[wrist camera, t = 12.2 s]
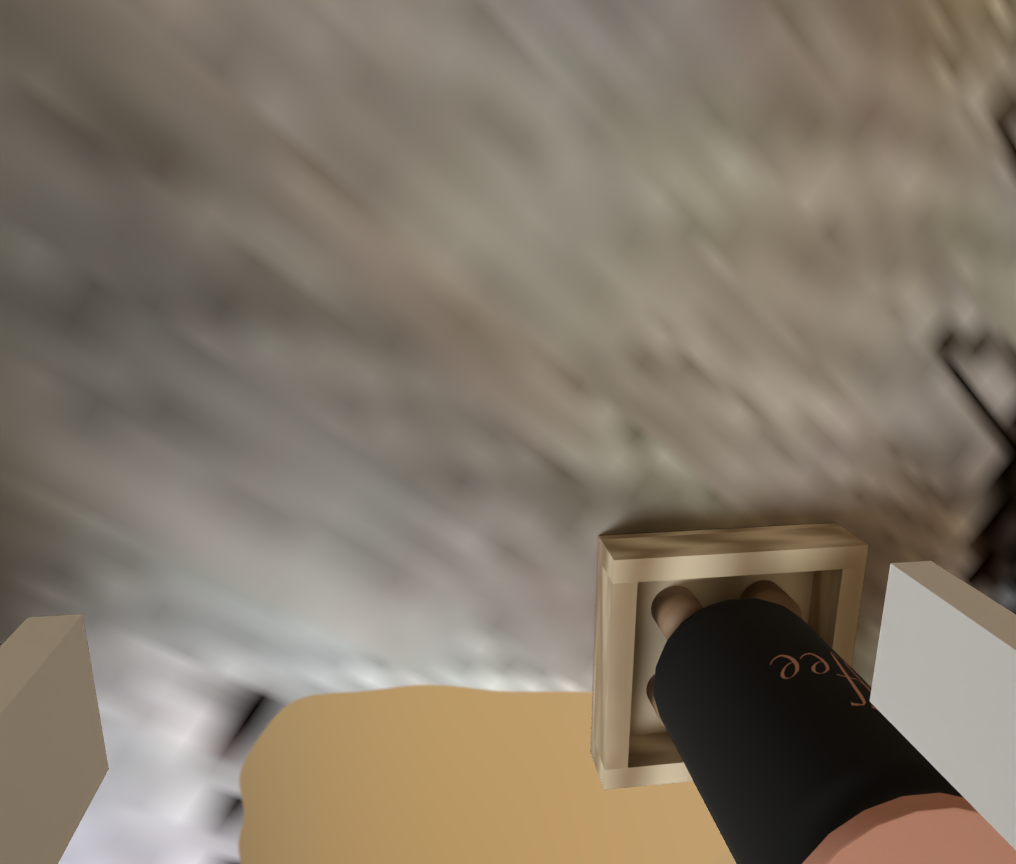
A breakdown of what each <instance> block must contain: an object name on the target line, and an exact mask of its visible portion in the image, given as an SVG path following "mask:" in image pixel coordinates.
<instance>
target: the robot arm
mask: <svg viewBox="0 0 1016 864" xmlns="http://www.w3.org/2000/svg"><path fill="white" fill-rule="evenodd" d="M870 702H871V703H872V704H873V705H874V706H875V707H876V708H877V709H878V710H879V711H880V713H881V714H882V715H883V716H884V717H885V718H886V719H887V720H888V721H889V722H890V723H891V724H892V725H893V726H894V727H895V728H896V729H897V730H898V731H899V732H900V733H901V734H902V735H903V736H904V737H905V738H906V739H907V740H908V741H909V742H910V743H911V744H912V745H913V746H914V747H915V748H916V749H917V750H918V751H919V752H920V753H921V754H922V755H923V756H924V757H925V758H926V759H927V760H928V762H929V763H930V764H931V765H932V766H933V767H934V768H935V769H936V770H937V771H938V772H939V773H940V774H941V775H942V776H943V777H944V778H945V779H946V780H947V781H948V782H949V783H950V784H951V785H952V786H953V787H954V788H955V789H956V790H957V791H958V792H959V793H960V794H961V795H962V796H963V797H964V798H965V799H966V800H967V801H968V802H969V803H970V804H971V805H972V806H973V807H974V808H975V809H976V811H977V812H978V813H979V814H980V815H981V816H982V817H983V818H984V819H985V820H986V821H987V822H988V823H989V824H990V825H991V826H992V827H993V828H994V829H995V830H996V831H997V832H998V833H999V834H1000V835H1001V836H1002V837H1003V838H1004V839H1005V840H1006V841H1007V842H1008V843H1009V844H1010V845H1011V846H1012V847H1013V848H1014V849H1015V850H1016V615H1015V614H1014V613H1012V612H1011V611H1009V610H1008V609H1006V608H1004V607H1003V606H1001V605H1000V604H998V603H997V602H995V601H993V600H992V599H990V598H989V597H987V596H986V595H984V594H982V593H981V592H979V591H978V590H976V589H975V588H973V587H971V586H970V585H968V584H967V583H965V582H964V581H962V580H960V579H959V578H957V577H956V576H954V575H953V574H951V573H949V572H948V571H946V570H945V569H943V568H942V567H940V566H938V565H937V564H935V563H934V562H932V561H918V562H902V563H890V569H889V576H888V583H887V589H886V596H885V602H884V609H883V616H882V622H881V629H880V635H879V642H878V649H877V655H876V662H875V669H874V675H873V682H872V688H871V695H870ZM108 769H109V768H108V762H107V756H106V750H105V744H104V738H103V732H102V726H101V720H100V714H99V708H98V702H97V696H96V690H95V685H94V679H93V673H92V667H91V661H90V655H89V649H88V643H87V637H86V631H85V625H84V619H83V614H74V615H58V616H42V617H28V618H27V619H26V620H25V621H24V622H23V623H22V624H21V625H20V626H19V627H18V628H17V629H16V630H15V631H14V633H13V634H12V635H11V636H10V637H9V638H8V639H7V640H6V641H5V642H4V643H3V644H2V645H1V646H0V864H58V862H59V860H60V859H61V857H62V855H63V853H64V851H65V849H66V847H67V846H68V844H69V842H70V840H71V838H72V836H73V834H74V832H75V831H76V829H77V827H78V825H79V823H80V821H81V819H82V818H83V816H84V814H85V812H86V810H87V808H88V806H89V804H90V803H91V801H92V799H93V797H94V795H95V793H96V791H97V790H98V788H99V786H100V784H101V782H102V780H103V778H104V777H105V775H106V773H107V771H108Z"/></svg>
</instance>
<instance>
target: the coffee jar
mask: <svg viewBox="0 0 1016 864" xmlns="http://www.w3.org/2000/svg"><path fill="white" fill-rule="evenodd" d="M871 688H872V687H871V686H870V685H869V684H868V683H867V682H866V681H865V680H863V679H862V678H861V677H860V676H859V675H858V674H857V673H856V672H855V671H854V670H853V669H852V668H851V667H850V666H849V665H848V664H847V663H846V662H845V661H844V660H843V659H842V658H841V657H840V656H839V655H838V654H837V653H836V652H835V651H834V650H833V649H832V648H831V647H830V646H829V645H828V644H827V643H826V642H825V641H824V640H823V639H822V638H821V637H820V636H819V635H818V634H817V633H816V632H815V631H814V630H813V629H812V628H811V627H810V626H809V625H808V624H807V623H806V622H805V621H804V620H803V619H802V618H800V617H799V616H797V615H796V614H794V613H793V612H792V611H790V610H789V609H787V608H786V607H784V606H783V605H780V604H776V603H772V602H768V601H765V600H761V599H757V598H747V599H729V600H724V601H721V602H718V603H715V604H712V605H710V606H707V607H704V608H702V609H700V610H699V611H697V612H696V613H694V614H693V615H691V616H690V617H689V618H687V619H686V620H684V621H683V622H682V623H681V624H680V625H679V627H678V628H677V629H676V630H675V631H674V633H673V634H672V635H671V636H670V637H669V639H668V640H667V642H666V644H665V646H664V648H663V651H662V653H661V655H660V658H659V660H658V663H657V665H656V669H655V681H654V694H653V695H654V699H655V702H656V706H657V709H658V712H659V716H660V718H661V720H662V722H663V724H664V726H665V728H666V730H667V732H668V734H669V735H670V737H671V739H672V741H673V743H674V745H675V747H676V749H677V751H678V753H679V754H680V756H681V758H682V760H683V762H684V764H685V766H686V768H687V770H688V772H689V774H690V775H691V777H692V779H693V781H694V783H695V785H696V787H697V789H698V791H699V793H700V795H701V796H702V798H703V800H704V802H705V804H706V806H707V808H708V810H709V812H710V814H711V816H712V817H713V819H714V821H715V823H716V825H717V827H718V829H719V831H720V833H721V835H722V836H723V838H724V840H725V842H726V844H727V846H728V848H729V850H730V852H731V854H732V856H733V858H734V859H735V861H736V863H737V864H1016V850H1015V849H1014V848H1013V847H1012V846H1011V845H1010V844H1009V843H1008V842H1007V841H1006V840H1005V839H1004V838H1003V837H1002V836H1001V835H1000V834H999V833H998V832H997V831H996V830H995V829H994V828H993V827H992V826H991V825H990V824H989V823H988V822H987V821H986V820H985V819H984V818H983V817H982V816H981V815H980V814H979V813H978V812H977V811H976V809H975V808H974V807H973V806H972V805H971V804H970V803H969V802H968V801H967V800H966V799H965V798H964V797H963V796H962V795H961V794H960V793H959V792H958V791H957V790H956V789H955V788H954V787H953V786H952V785H951V784H950V783H949V782H948V781H947V780H946V779H945V778H944V777H943V776H942V775H941V774H940V773H939V772H938V771H937V770H936V769H935V768H934V767H933V766H932V765H931V764H930V763H929V762H928V760H927V759H926V758H925V757H924V756H923V755H922V754H921V753H920V752H919V751H918V750H917V749H916V748H915V747H914V746H913V745H912V744H911V743H910V742H909V741H908V740H907V739H906V738H905V737H904V736H903V735H902V734H901V733H900V732H899V731H898V730H897V729H896V728H895V727H894V726H893V725H892V724H891V723H890V722H889V721H888V720H887V719H886V718H885V717H884V716H883V715H882V714H881V713H880V711H879V710H878V709H877V708H876V707H875V706H874V705H873V704H872V703H871V702H870V695H871Z"/></svg>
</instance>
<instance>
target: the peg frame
mask: <svg viewBox="0 0 1016 864" xmlns="http://www.w3.org/2000/svg"><path fill="white" fill-rule="evenodd" d="M868 547H869V545H868V544H866V543H865V542H863V541H862V540H860V539H859V538H857V537H856V536H855V535H853V534H852V533H850V532H849V531H847V530H846V529H844V528H843V527H842V526H840V525H839V524H837V523H823V524H804V525H786V526H768V527H749V528H731V529H712V530H694V531H676V532H657V533H639V534H621V535H602V536H598V560H597V587H596V614H595V642H594V669H593V697H592V725H591V750H590V752H591V755H592V758H593V760H594V763H595V766H596V769H597V772H598V774H599V777H600V780H601V783H602V785H603V788H604V790H607V789H617V788H627V787H637V786H647V785H657V784H667V783H676V782H687V781H693V779H692V777H691V775H690V774H689V772H688V770H687V768H686V766H685V764H684V762H683V760H682V758H681V756H680V754H679V753H678V751H677V749H676V747H675V745H674V743H673V741H672V739H671V737H670V735H669V734H668V732H667V730H666V728H665V726H664V724H663V722H662V720H661V718H660V716H659V712H658V709H657V706H656V702H655V699H654V695H653V694H654V681H655V669H656V665H657V663H658V660H659V658H660V655H661V653H662V651H663V648H664V646H665V644H666V642H667V640H668V639H669V637H670V636H671V635H672V634H673V633H674V631H675V630H676V629H677V628H678V627H679V625H680V624H681V623H682V622H683V621H684V620H686V619H687V618H689V617H690V616H691V615H693V614H694V613H696V612H697V611H699V610H700V609H702V608H704V607H707V606H710V605H712V604H715V603H718V602H721V601H724V600H729V599H747V598H757V599H761V600H765V601H768V602H772V603H776V604H780V605H783V606H784V607H786V608H787V609H789V610H790V611H792V612H793V613H794V614H796V615H797V616H799V617H800V618H802V619H803V620H804V621H805V622H806V623H807V624H808V625H809V626H810V627H811V628H812V629H813V630H814V631H815V632H816V633H817V634H818V635H819V636H820V637H821V638H822V639H823V640H824V641H825V642H826V643H827V644H828V645H829V646H830V647H831V648H832V649H833V650H834V651H835V652H836V653H837V654H838V655H839V656H840V657H841V658H842V659H843V660H844V661H845V662H846V663H847V664H848V665H849V666H850V667H852V660H853V653H854V646H855V639H856V632H857V625H858V618H859V611H860V604H861V596H862V589H863V582H864V575H865V568H866V561H867V554H868Z"/></svg>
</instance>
